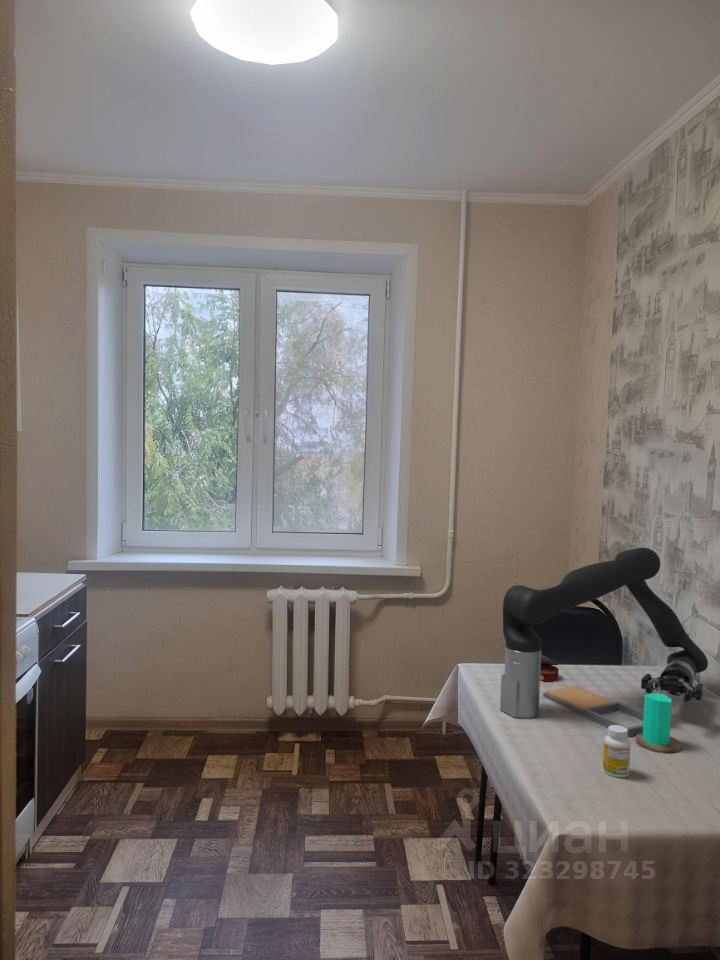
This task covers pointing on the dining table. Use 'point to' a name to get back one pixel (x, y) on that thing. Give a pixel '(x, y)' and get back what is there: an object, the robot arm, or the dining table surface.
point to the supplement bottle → (617, 752)
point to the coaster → (670, 748)
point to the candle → (657, 719)
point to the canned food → (548, 670)
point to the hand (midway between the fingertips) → (667, 694)
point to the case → (593, 706)
